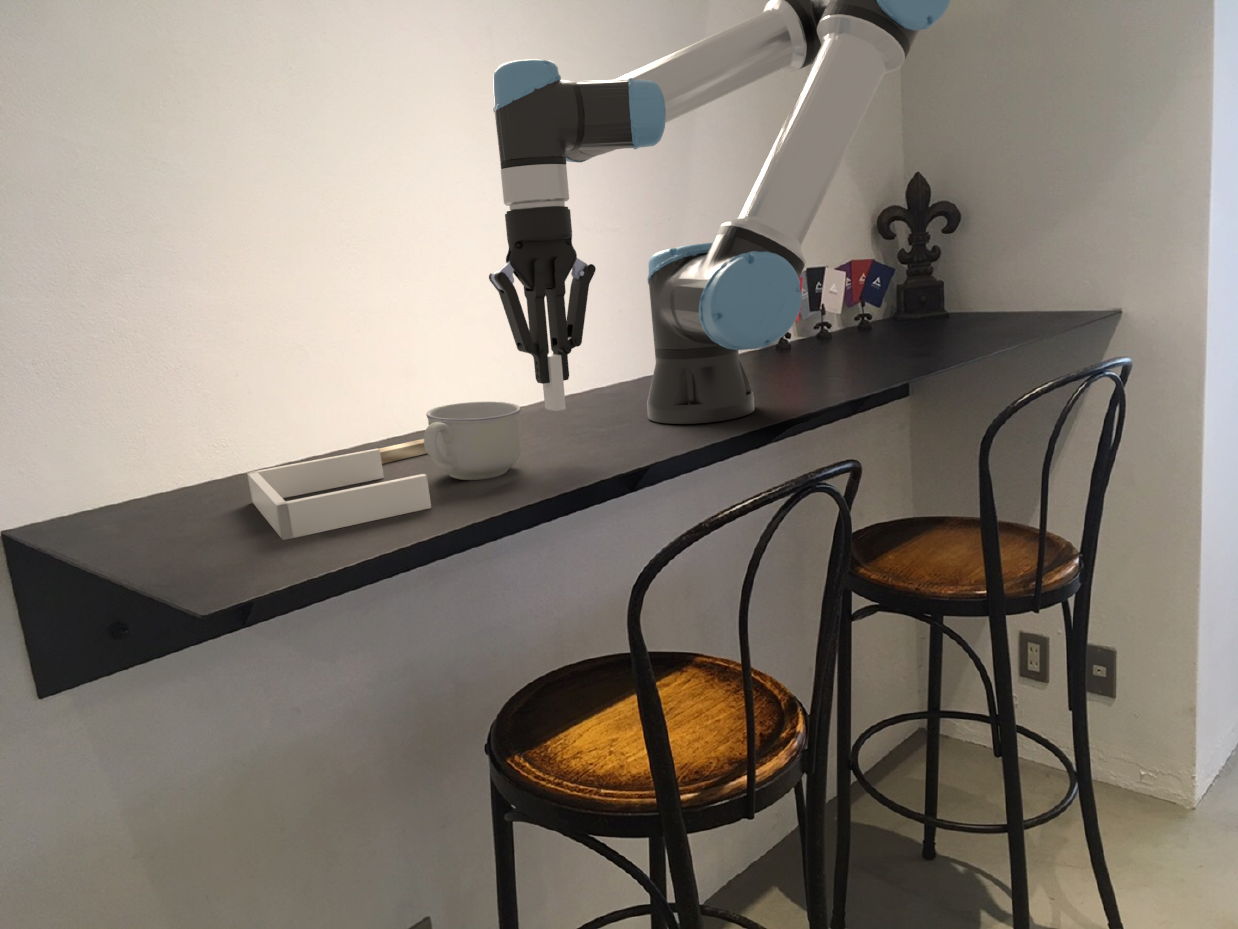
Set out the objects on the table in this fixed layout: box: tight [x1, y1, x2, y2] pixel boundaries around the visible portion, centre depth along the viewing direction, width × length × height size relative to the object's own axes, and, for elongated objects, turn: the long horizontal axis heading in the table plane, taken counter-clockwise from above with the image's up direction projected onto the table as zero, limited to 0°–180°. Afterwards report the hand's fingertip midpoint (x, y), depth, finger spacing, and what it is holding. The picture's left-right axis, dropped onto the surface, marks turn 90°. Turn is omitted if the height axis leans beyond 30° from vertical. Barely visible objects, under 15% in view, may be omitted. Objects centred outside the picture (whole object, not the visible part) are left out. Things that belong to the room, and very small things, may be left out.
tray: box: [246, 448, 432, 541], centre depth 105 cm, size 15×19×4 cm
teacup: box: [423, 401, 522, 481], centre depth 112 cm, size 14×11×8 cm
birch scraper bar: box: [378, 438, 428, 465], centre depth 127 cm, size 23×2×2 cm, turn 129°
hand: (555, 408), depth 117 cm, fingers closed
